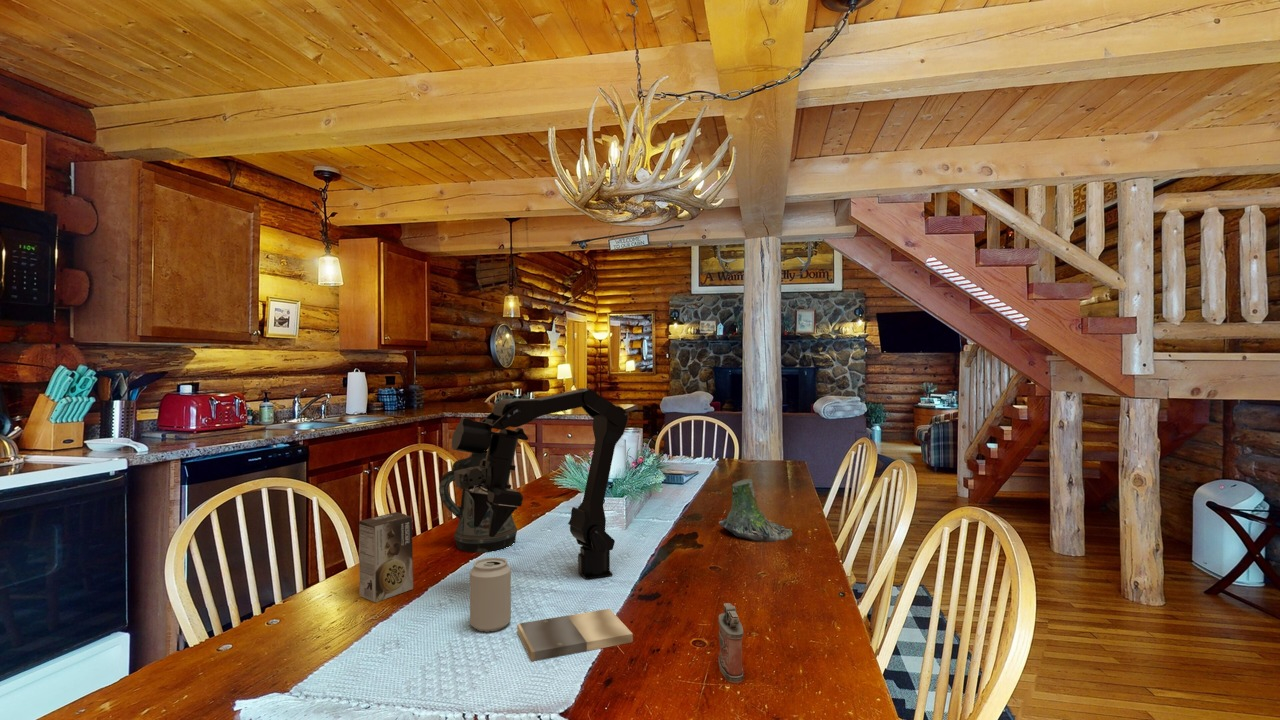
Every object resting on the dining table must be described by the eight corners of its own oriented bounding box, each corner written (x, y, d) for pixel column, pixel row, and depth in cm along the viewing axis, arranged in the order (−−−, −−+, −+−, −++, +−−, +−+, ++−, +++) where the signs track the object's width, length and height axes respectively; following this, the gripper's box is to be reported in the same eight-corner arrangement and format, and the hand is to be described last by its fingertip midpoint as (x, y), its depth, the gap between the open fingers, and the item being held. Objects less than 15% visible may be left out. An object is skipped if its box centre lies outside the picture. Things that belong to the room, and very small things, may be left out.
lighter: (715, 657, 104) (715, 598, 104) (735, 657, 105) (734, 597, 105) (725, 683, 96) (725, 618, 96) (747, 681, 97) (747, 617, 97)
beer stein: (529, 541, 172) (529, 450, 171) (476, 560, 155) (475, 459, 155) (486, 532, 180) (486, 445, 180) (431, 549, 164) (431, 454, 164)
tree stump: (801, 544, 170) (785, 481, 169) (729, 561, 170) (714, 498, 169) (786, 523, 188) (772, 466, 187) (721, 538, 188) (707, 482, 188)
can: (518, 619, 120) (518, 557, 120) (497, 636, 113) (497, 569, 113) (484, 614, 122) (484, 553, 122) (461, 630, 115) (461, 565, 115)
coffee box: (396, 583, 139) (396, 511, 139) (414, 589, 135) (413, 515, 135) (357, 596, 132) (357, 520, 132) (375, 603, 128) (375, 524, 128)
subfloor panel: (609, 616, 121) (609, 608, 121) (632, 642, 110) (632, 633, 110) (517, 632, 114) (517, 623, 114) (531, 661, 103) (531, 651, 103)
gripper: (449, 446, 136) (432, 518, 134) (479, 457, 120) (460, 539, 118) (497, 454, 142) (481, 523, 140) (531, 465, 126) (514, 543, 124)
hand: (483, 531), depth 130 cm, fingers open, 9 cm apart
